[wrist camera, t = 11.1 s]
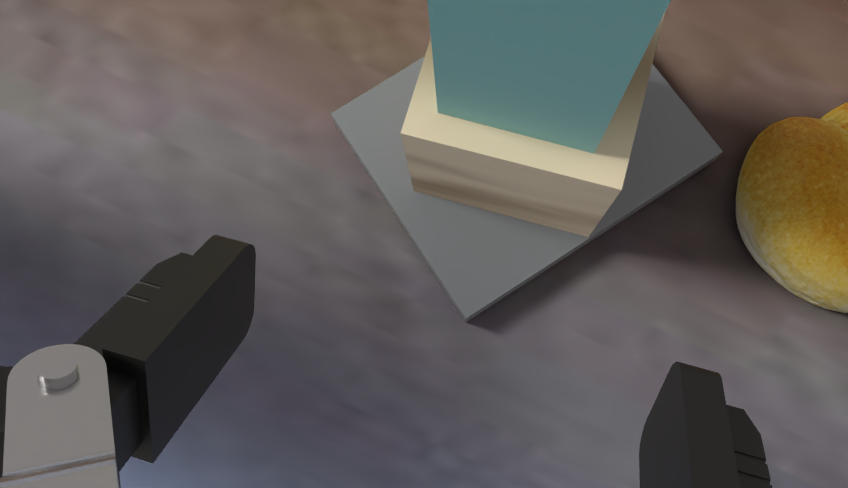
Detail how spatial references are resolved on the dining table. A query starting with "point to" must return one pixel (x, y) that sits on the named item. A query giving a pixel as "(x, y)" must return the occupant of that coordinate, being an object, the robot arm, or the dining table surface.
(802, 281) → the bread roll
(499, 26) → the teal brick
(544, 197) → the base brick
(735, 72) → the dining table surface
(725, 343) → the dining table surface
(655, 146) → the plate
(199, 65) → the dining table surface
